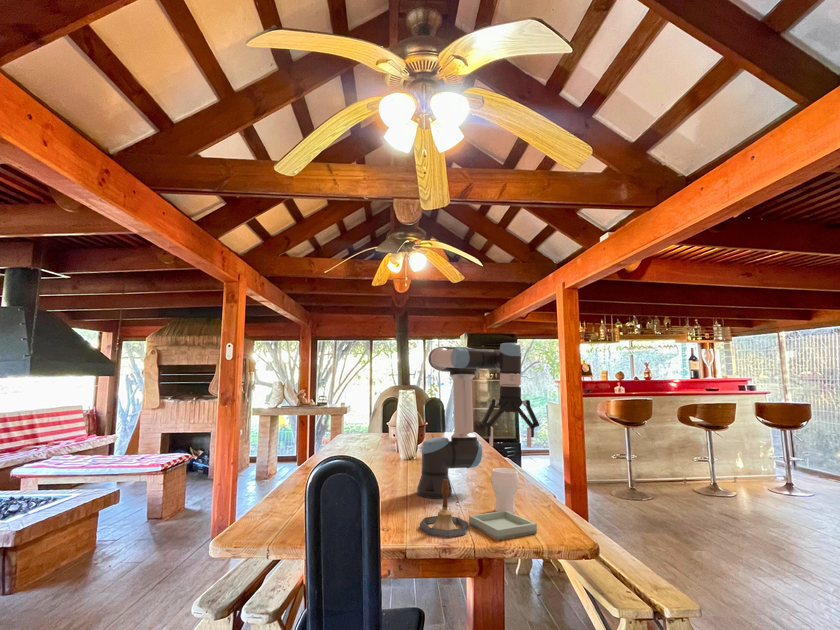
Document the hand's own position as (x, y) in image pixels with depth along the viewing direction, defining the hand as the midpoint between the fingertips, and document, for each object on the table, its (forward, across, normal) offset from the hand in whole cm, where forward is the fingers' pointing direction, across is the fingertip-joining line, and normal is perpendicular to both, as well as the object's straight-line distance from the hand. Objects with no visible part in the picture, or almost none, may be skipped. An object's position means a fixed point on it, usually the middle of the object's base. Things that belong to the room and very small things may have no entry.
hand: (510, 446), depth 157 cm
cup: (+27, +2, +17) cm, 32 cm away
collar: (+27, -23, -4) cm, 36 cm away
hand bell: (+27, -23, -4) cm, 36 cm away
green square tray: (+26, -4, -4) cm, 27 cm away
